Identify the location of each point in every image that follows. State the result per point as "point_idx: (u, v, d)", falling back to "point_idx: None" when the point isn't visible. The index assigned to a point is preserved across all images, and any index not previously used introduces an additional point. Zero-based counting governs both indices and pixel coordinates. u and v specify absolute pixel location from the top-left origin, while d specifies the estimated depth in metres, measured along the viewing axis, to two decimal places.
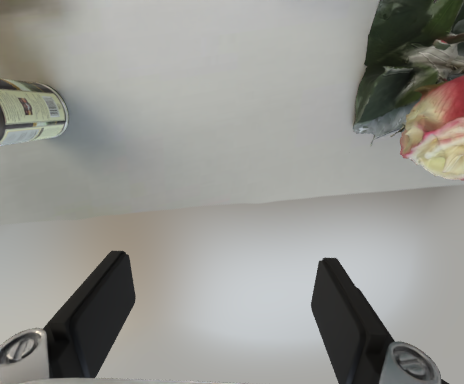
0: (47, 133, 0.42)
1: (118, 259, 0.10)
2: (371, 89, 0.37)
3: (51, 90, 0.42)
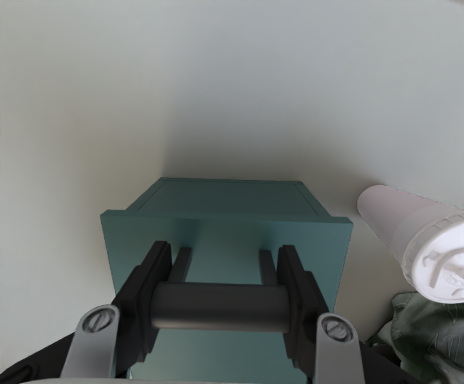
0: None
1: (163, 247, 0.11)
2: None
3: None
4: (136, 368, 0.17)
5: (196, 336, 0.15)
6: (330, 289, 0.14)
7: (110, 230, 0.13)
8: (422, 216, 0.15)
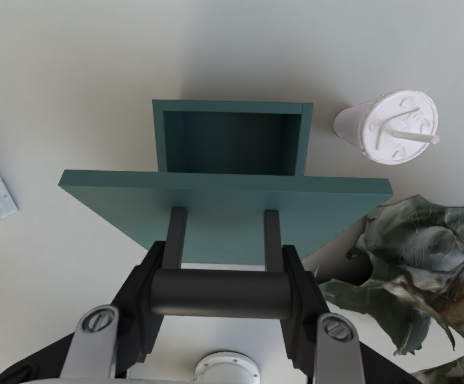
0: None
1: (163, 247, 0.11)
2: None
3: None
4: None
5: (202, 244, 0.17)
6: (336, 229, 0.13)
7: (80, 195, 0.10)
8: (371, 103, 0.21)
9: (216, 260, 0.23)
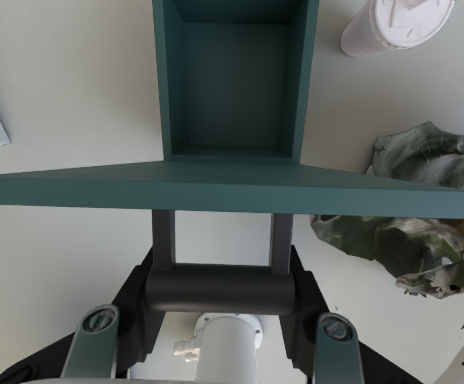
0: None
1: None
2: None
3: None
4: None
5: None
6: None
7: None
8: None
9: None
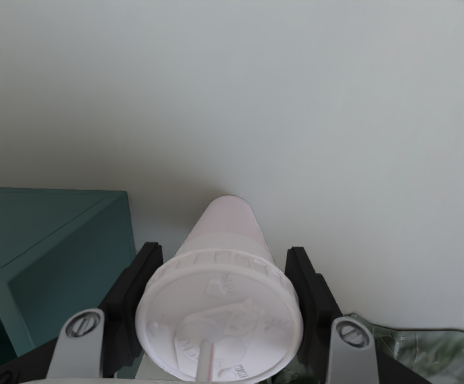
0: None
1: (154, 249, 0.11)
2: None
3: None
4: None
5: None
6: None
7: None
8: (181, 251, 0.10)
9: None
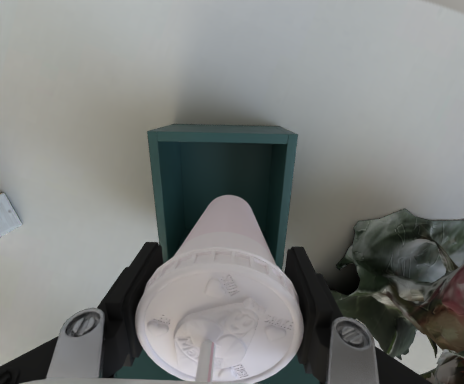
0: None
1: (154, 249, 0.11)
2: None
3: None
4: None
5: None
6: None
7: None
8: (181, 251, 0.10)
9: None
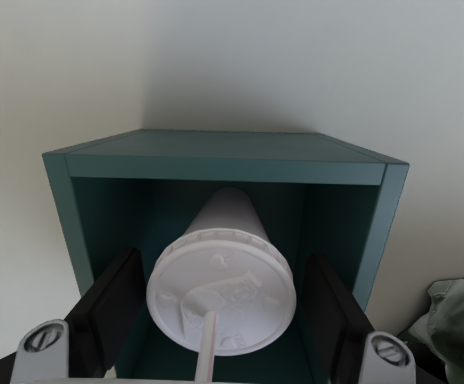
0: None
1: (131, 255, 0.10)
2: None
3: None
4: None
5: None
6: None
7: None
8: (186, 234, 0.11)
9: None
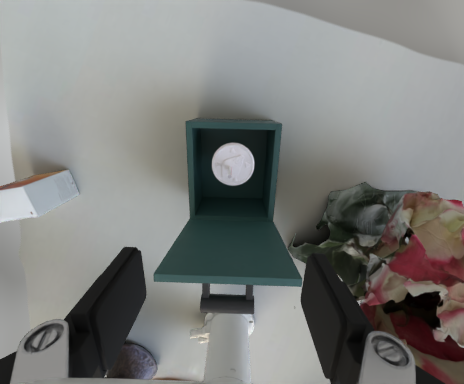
0: None
1: (131, 255, 0.10)
2: None
3: None
4: None
5: None
6: None
7: None
8: None
9: None
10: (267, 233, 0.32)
